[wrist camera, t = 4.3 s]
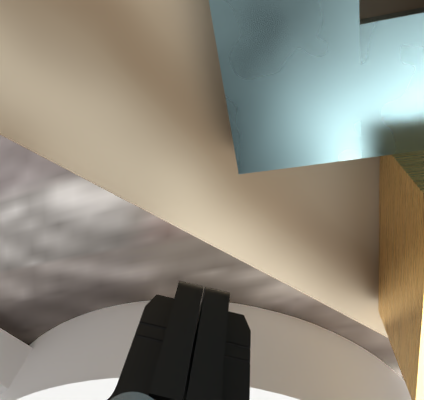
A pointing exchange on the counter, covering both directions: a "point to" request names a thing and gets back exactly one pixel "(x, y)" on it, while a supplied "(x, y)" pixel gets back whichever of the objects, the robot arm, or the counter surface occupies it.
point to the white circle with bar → (259, 359)
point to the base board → (185, 140)
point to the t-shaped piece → (338, 123)
